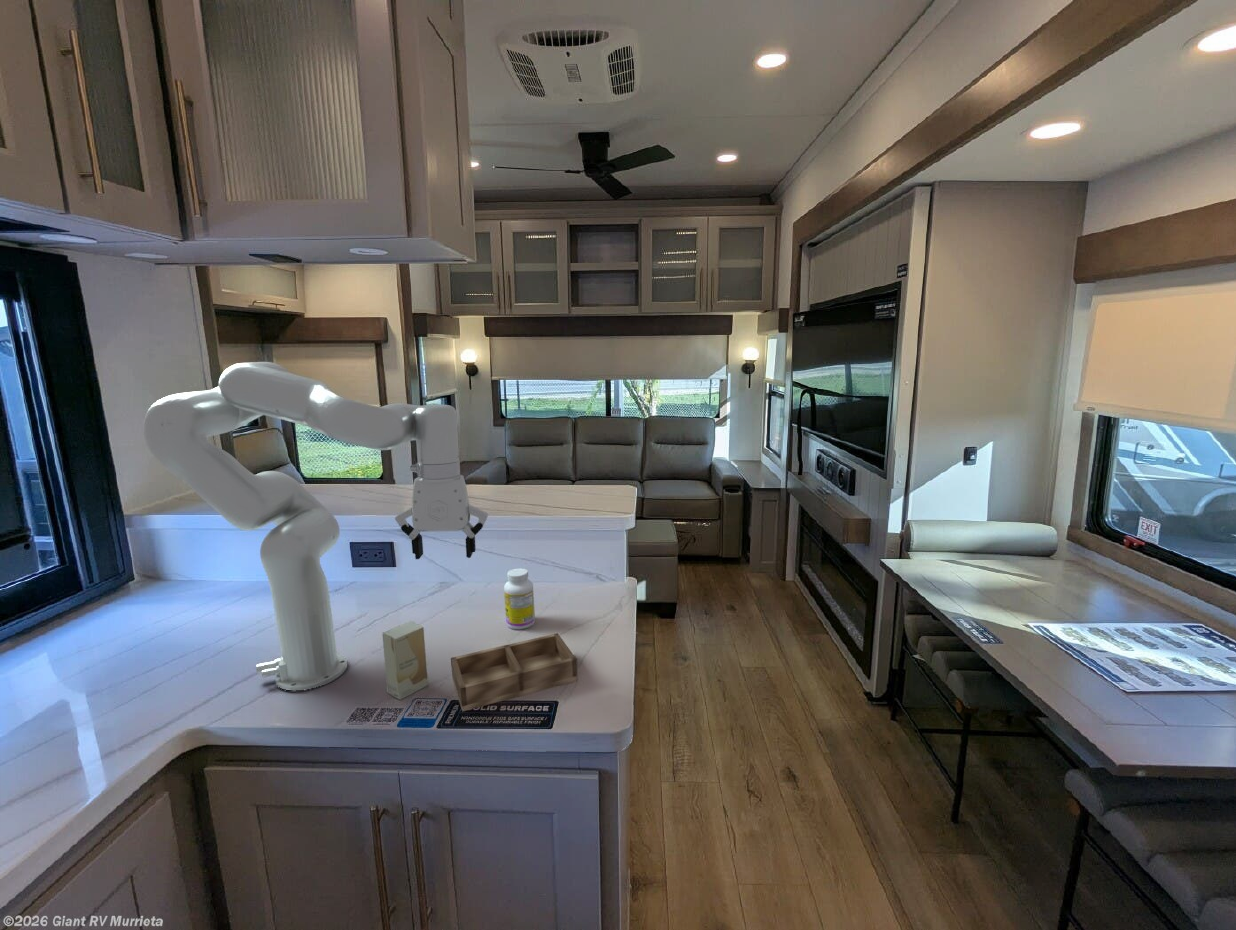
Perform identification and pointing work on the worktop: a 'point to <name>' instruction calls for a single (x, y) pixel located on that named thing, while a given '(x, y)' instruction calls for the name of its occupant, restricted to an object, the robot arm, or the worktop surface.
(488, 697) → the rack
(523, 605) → the supplement bottle
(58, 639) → the worktop surface
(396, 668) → the skincare box
